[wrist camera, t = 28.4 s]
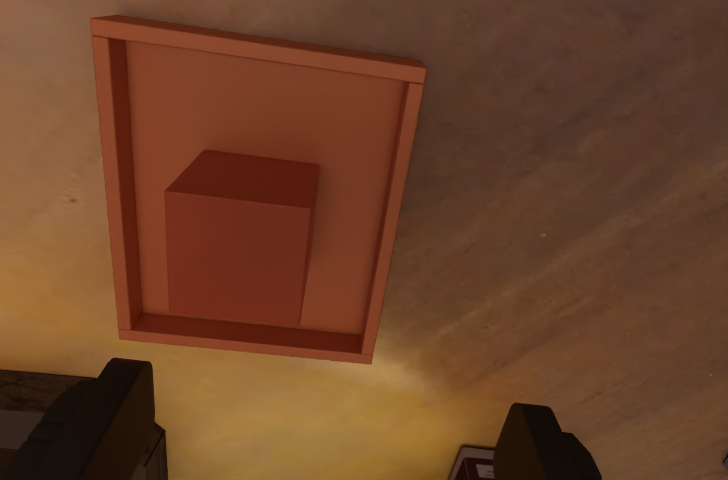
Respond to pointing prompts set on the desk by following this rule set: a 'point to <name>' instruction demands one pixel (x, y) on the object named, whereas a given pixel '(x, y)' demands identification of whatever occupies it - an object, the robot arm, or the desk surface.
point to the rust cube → (240, 237)
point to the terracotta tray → (263, 139)
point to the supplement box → (473, 465)
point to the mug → (31, 401)
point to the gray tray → (726, 462)
